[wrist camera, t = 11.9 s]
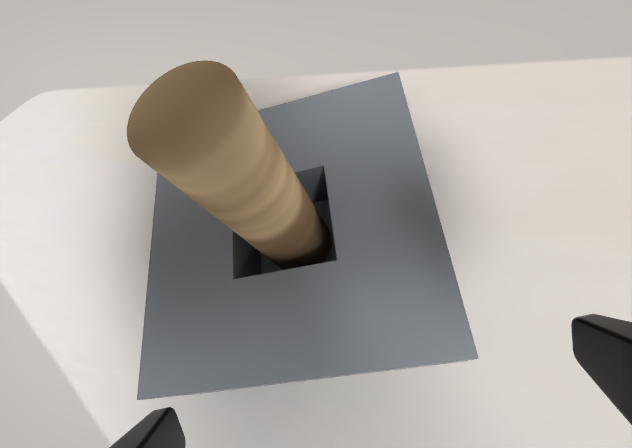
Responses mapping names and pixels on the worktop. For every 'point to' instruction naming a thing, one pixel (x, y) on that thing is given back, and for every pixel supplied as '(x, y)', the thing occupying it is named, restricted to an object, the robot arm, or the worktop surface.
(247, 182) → the pin
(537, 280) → the worktop surface
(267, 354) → the socket block
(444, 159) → the worktop surface
